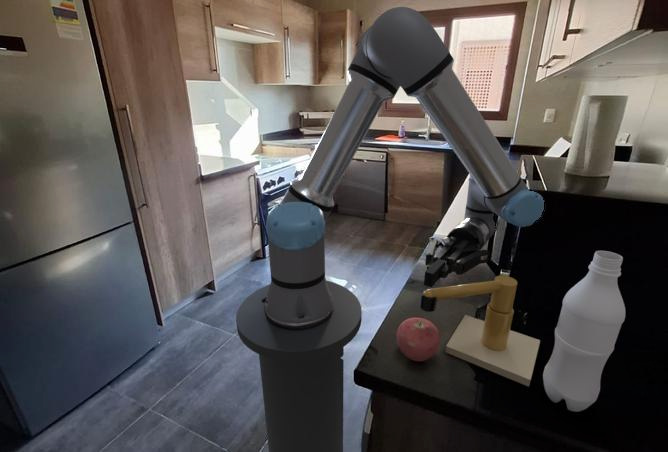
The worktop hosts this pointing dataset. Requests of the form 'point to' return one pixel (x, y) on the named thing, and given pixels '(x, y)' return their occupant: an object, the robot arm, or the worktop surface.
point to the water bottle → (586, 334)
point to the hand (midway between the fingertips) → (428, 279)
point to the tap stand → (495, 346)
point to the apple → (418, 339)
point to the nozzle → (474, 293)
